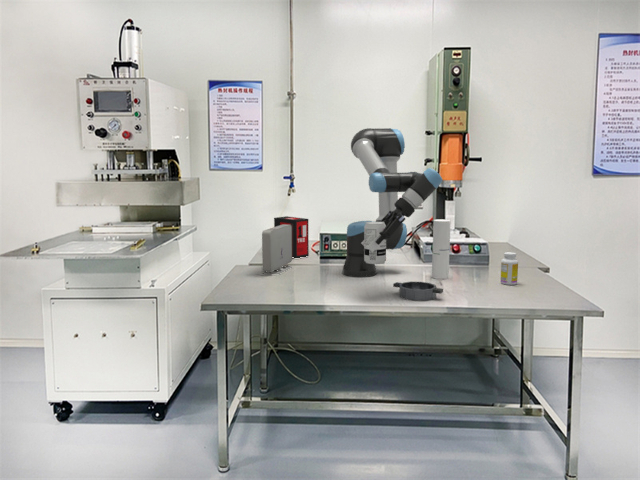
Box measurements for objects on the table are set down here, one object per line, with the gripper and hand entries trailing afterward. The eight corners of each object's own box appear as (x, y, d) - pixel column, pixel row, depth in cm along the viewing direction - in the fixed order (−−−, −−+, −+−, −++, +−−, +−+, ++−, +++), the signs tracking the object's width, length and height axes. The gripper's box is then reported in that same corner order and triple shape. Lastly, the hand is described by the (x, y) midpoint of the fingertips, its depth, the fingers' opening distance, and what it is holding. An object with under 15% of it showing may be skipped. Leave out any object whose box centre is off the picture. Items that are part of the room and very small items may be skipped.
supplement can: (362, 260, 211) (362, 221, 209) (384, 259, 212) (384, 221, 209) (365, 264, 203) (365, 224, 201) (388, 264, 204) (388, 223, 201)
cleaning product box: (274, 255, 293) (274, 217, 290) (286, 253, 299) (286, 216, 296) (296, 259, 281) (296, 220, 278) (308, 256, 288) (308, 218, 285)
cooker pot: (386, 296, 209) (387, 285, 208) (402, 288, 220) (402, 279, 219) (434, 303, 198) (434, 293, 198) (448, 295, 210) (448, 285, 209)
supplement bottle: (517, 282, 231) (518, 252, 229) (517, 285, 225) (518, 255, 223) (500, 281, 233) (501, 251, 231) (499, 284, 227) (501, 254, 225)
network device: (275, 276, 242) (274, 231, 238) (257, 275, 244) (256, 230, 241) (296, 265, 266) (296, 224, 262) (279, 264, 268) (279, 223, 265)
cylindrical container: (448, 279, 236) (450, 221, 233) (431, 278, 238) (433, 221, 234) (448, 275, 243) (450, 219, 239) (431, 275, 245) (433, 219, 241)
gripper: (425, 213, 197) (381, 259, 196) (405, 207, 217) (366, 249, 217) (411, 198, 195) (366, 245, 195) (392, 194, 215) (353, 236, 215)
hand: (366, 247), depth 206 cm, fingers closed on supplement can, 8 cm apart
